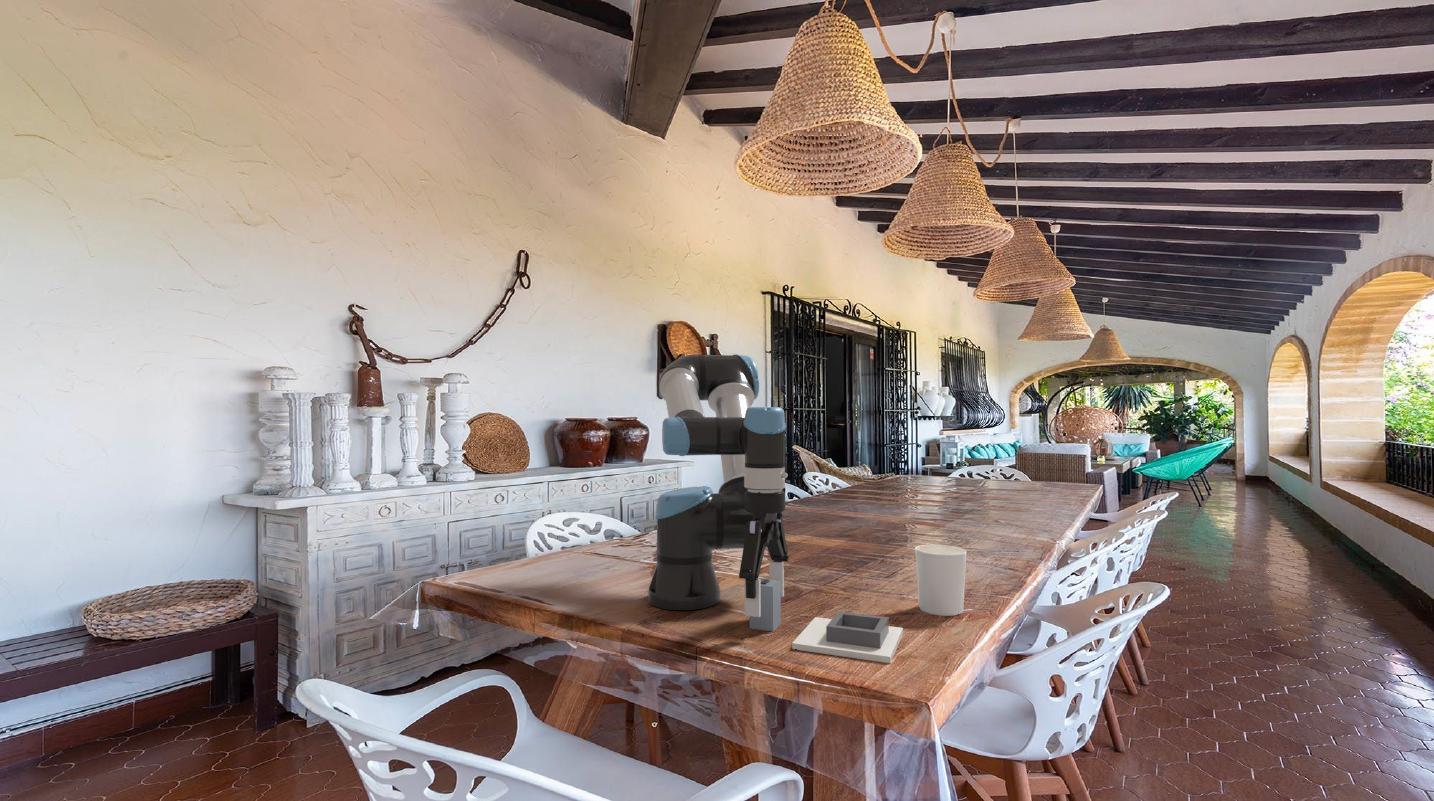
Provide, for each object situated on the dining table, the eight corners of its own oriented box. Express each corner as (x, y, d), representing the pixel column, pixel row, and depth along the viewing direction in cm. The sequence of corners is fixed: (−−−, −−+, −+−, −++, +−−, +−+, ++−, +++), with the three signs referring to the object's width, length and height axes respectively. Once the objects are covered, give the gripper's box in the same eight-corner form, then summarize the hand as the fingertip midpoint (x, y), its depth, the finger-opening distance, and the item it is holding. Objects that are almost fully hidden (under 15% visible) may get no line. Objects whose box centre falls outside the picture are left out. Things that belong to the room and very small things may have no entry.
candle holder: (908, 611, 130) (908, 550, 131) (923, 599, 139) (923, 542, 139) (960, 620, 125) (959, 557, 125) (972, 607, 133) (971, 547, 133)
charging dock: (792, 649, 110) (792, 628, 110) (815, 622, 124) (815, 603, 124) (890, 663, 104) (890, 641, 104) (903, 633, 118) (903, 613, 118)
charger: (749, 628, 121) (749, 582, 121) (757, 621, 125) (757, 577, 125) (773, 631, 119) (772, 585, 119) (780, 624, 123) (780, 579, 123)
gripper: (761, 499, 109) (762, 628, 109) (803, 484, 132) (803, 590, 132) (720, 497, 112) (720, 622, 112) (767, 482, 135) (767, 586, 135)
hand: (765, 605), depth 122 cm, fingers open, 13 cm apart
